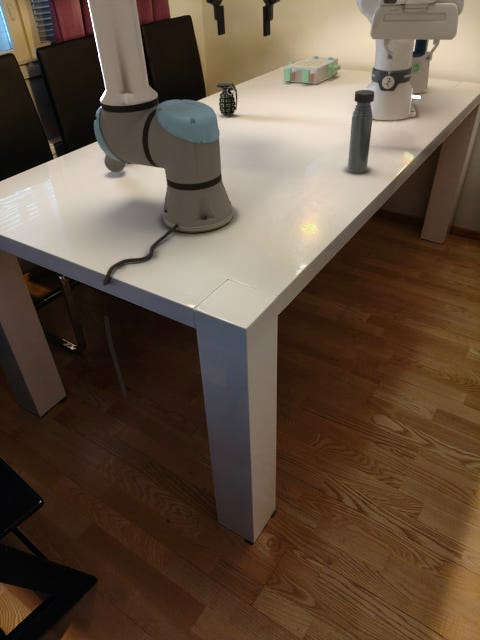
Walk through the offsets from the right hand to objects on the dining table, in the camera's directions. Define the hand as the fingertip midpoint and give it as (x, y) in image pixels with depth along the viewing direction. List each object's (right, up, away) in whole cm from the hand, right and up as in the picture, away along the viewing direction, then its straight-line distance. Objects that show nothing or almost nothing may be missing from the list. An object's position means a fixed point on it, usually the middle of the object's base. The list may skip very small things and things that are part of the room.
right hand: (408, 59), depth 123 cm
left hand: (-42, +10, +6) cm, 43 cm away
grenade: (-47, +5, +47) cm, 66 cm away
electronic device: (+20, +20, +60) cm, 66 cm away
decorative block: (-12, +38, +85) cm, 94 cm away
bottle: (-13, -27, +2) cm, 30 cm away
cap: (-13, -13, -9) cm, 21 cm away
